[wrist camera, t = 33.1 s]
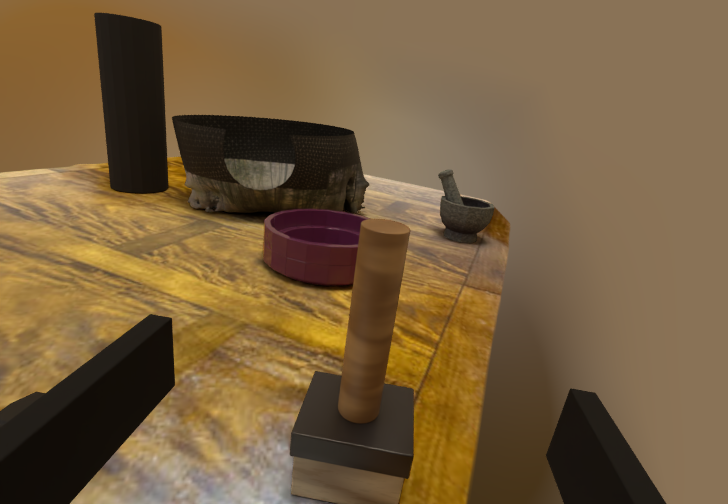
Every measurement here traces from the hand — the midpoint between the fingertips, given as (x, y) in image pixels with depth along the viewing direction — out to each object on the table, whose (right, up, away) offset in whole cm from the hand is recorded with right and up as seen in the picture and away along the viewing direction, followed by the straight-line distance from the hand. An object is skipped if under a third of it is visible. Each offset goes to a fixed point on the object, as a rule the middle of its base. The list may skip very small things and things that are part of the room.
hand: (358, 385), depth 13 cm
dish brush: (-1, -9, +11) cm, 14 cm away
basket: (-18, +13, +66) cm, 70 cm away
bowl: (-5, +3, +42) cm, 42 cm away
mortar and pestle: (+18, +7, +63) cm, 66 cm away
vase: (-45, +17, +68) cm, 83 cm away
